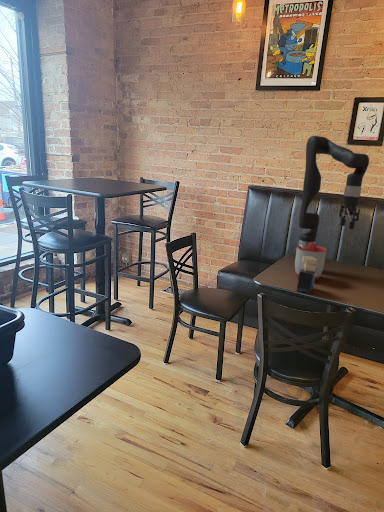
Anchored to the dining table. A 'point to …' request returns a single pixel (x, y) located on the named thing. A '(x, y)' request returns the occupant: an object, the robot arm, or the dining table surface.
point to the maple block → (308, 263)
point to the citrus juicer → (310, 251)
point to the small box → (306, 281)
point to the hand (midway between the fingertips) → (346, 227)
